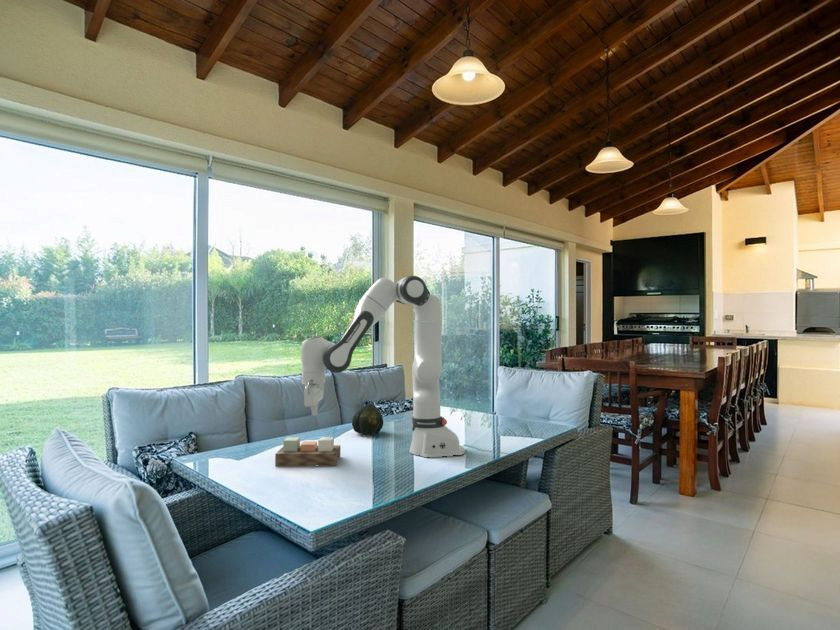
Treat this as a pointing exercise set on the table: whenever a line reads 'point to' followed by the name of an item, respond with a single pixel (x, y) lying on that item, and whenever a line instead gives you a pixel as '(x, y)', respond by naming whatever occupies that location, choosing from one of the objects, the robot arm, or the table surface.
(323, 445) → the cream key
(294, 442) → the sage key
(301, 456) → the board
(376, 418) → the squash
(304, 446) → the terracotta key
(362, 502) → the table surface
